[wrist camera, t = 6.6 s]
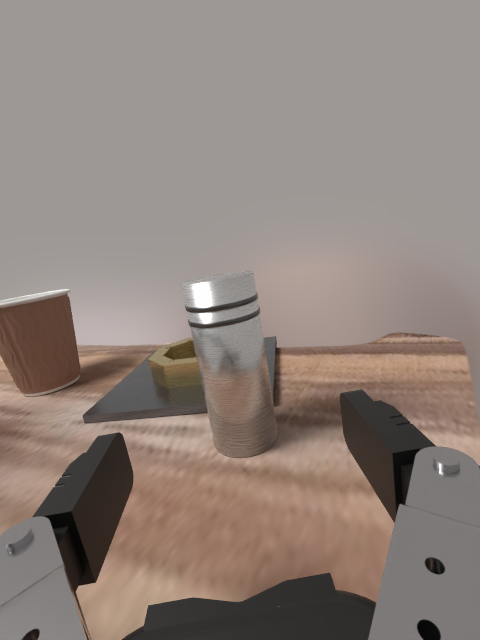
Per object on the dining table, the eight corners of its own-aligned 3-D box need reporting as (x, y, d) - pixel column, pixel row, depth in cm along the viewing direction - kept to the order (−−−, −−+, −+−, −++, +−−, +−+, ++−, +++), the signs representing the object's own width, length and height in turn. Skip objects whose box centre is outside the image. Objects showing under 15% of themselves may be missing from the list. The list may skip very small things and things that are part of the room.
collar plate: (84, 423, 30) (75, 391, 29) (156, 356, 47) (151, 335, 47) (273, 406, 27) (268, 371, 27) (276, 341, 45) (273, 319, 44)
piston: (207, 460, 22) (170, 288, 19) (220, 421, 27) (192, 278, 24) (278, 455, 21) (250, 275, 18) (279, 416, 26) (256, 268, 23)
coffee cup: (105, 364, 48) (83, 285, 45) (71, 395, 38) (41, 296, 35) (37, 375, 48) (11, 297, 45) (-14, 410, 38) (-51, 312, 35)
